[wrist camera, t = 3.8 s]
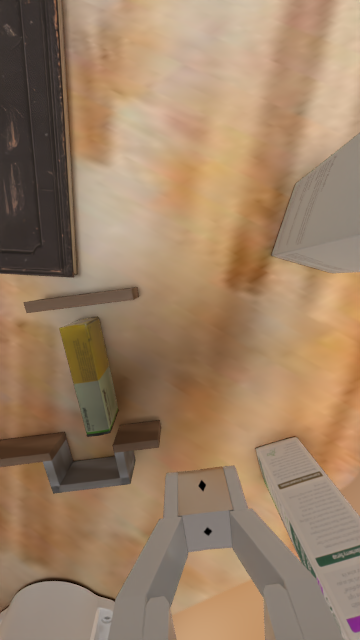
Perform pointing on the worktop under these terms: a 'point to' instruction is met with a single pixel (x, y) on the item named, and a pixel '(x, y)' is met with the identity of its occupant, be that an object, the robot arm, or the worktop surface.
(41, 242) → the hardcover book
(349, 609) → the syrup box
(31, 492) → the worktop surface
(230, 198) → the worktop surface
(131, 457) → the trap corral
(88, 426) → the medication box
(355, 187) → the supplement box
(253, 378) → the worktop surface
